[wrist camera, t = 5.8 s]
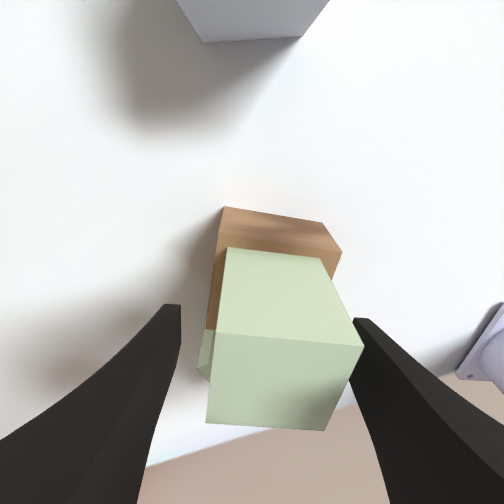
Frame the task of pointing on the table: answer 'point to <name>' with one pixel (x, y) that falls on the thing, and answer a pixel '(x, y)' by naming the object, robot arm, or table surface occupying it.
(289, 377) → the sage block
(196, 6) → the slate block
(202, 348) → the pale green block
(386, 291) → the table surface
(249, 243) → the walnut plinth
